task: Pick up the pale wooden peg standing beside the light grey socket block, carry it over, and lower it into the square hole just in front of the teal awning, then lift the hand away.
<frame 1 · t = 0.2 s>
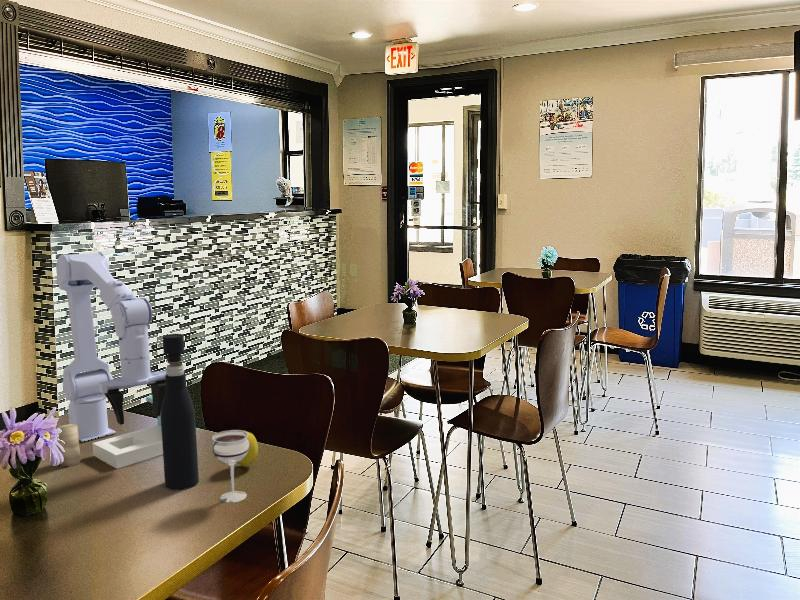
hand: (139, 419, 140), 10 cm above the table, tool pointing down, fingers open, 7 cm apart
peg: (70, 462, 142), on the table
socket block: (127, 455, 146), on the table
lemon: (245, 468, 139), on the table
wineglass: (233, 497, 125), on the table
wine bottle: (182, 484, 132), on the table
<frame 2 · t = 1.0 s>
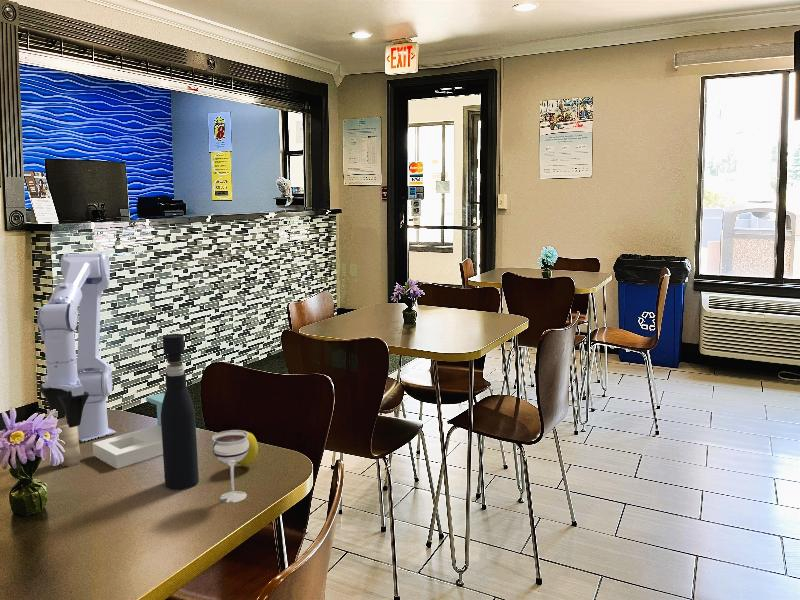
hand: (66, 422, 141), 9 cm above the table, tool pointing down, fingers open, 7 cm apart
nothing on the table moved.
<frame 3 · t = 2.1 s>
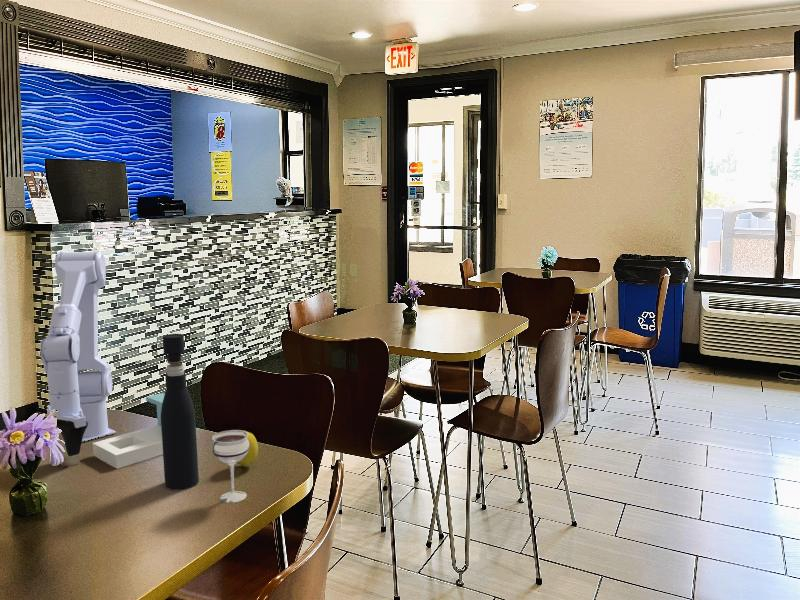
hand: (69, 452, 142), 2 cm above the table, tool pointing down, fingers closed on peg, 4 cm apart
peg: (70, 462, 142), on the table, touching gripper
everything else where it was.
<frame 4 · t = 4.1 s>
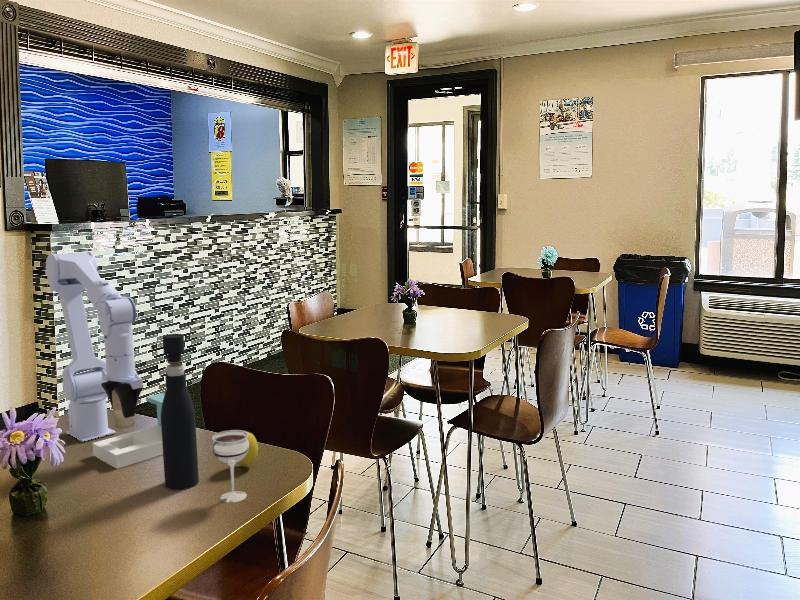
hand: (124, 414, 145), 9 cm above the table, tool pointing down, fingers closed on peg, 4 cm apart
peg: (124, 425, 145), point 7 cm above the table, touching gripper
everything else where it was.
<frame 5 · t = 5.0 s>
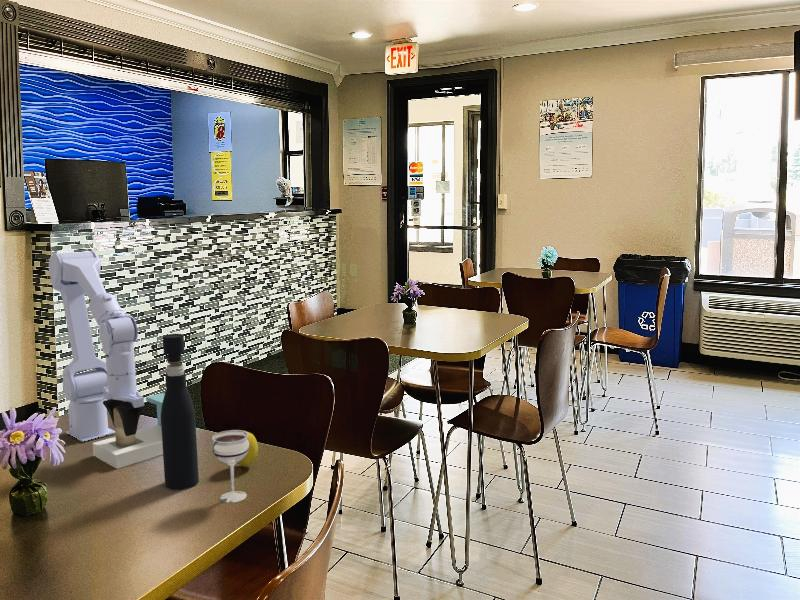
hand: (125, 432, 146), 5 cm above the table, tool pointing down, fingers closed on peg, 4 cm apart
peg: (125, 443, 146), point 3 cm above the table, touching gripper
everything else where it was.
when the fingers open (4 cm above the table, at t = 5.8 s): peg drops 1 cm, resting in socket block.
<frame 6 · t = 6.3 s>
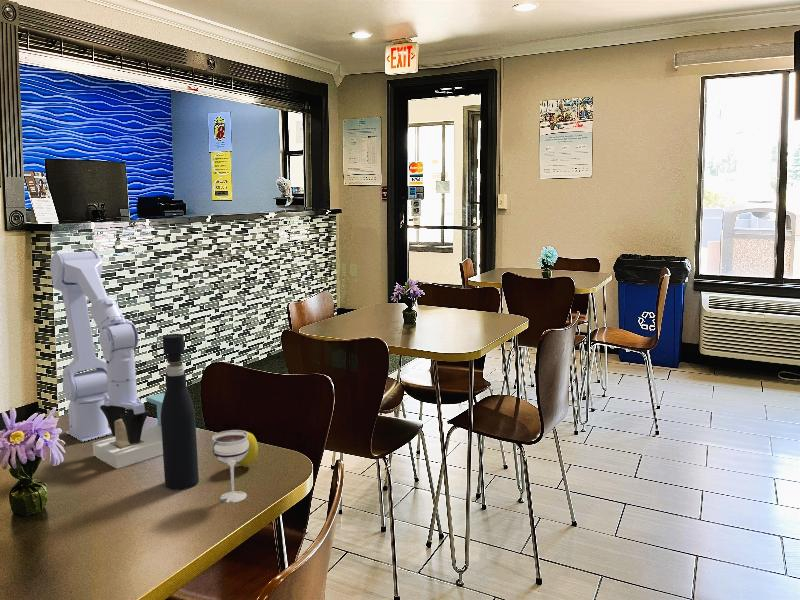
hand: (126, 438, 146), 4 cm above the table, tool pointing down, fingers open, 7 cm apart
peg: (126, 455, 146), resting in socket block
everything else where it was.
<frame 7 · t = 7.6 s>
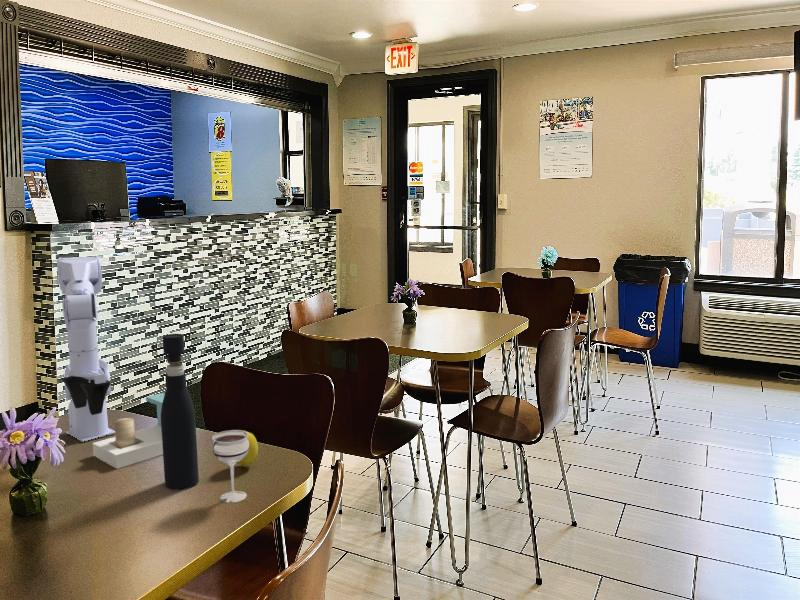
hand: (88, 410, 145), 10 cm above the table, tool pointing down, fingers open, 7 cm apart
nothing on the table moved.
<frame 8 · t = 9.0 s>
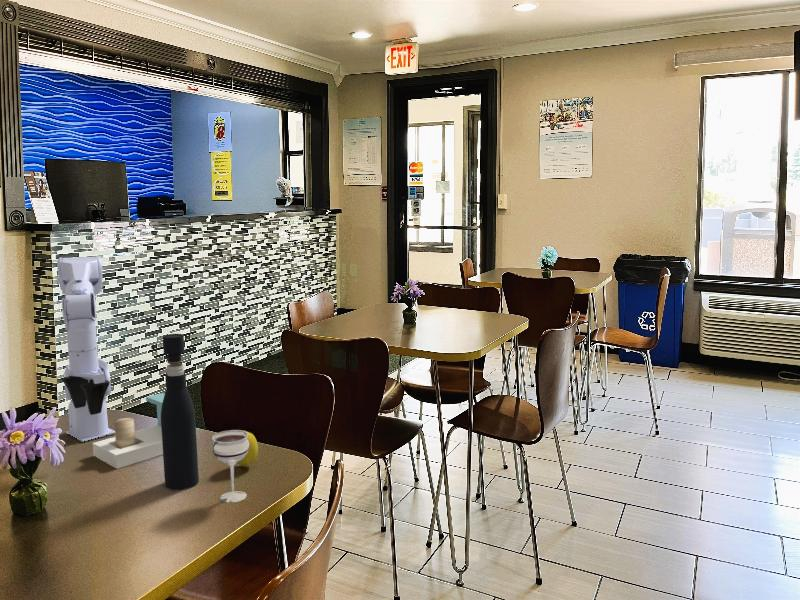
hand: (87, 410, 145), 10 cm above the table, tool pointing down, fingers open, 7 cm apart
nothing on the table moved.
at the end: peg 0.1 cm off-centre on the socket block, point 0.0 cm above the socket block's base; peg tilted 0°; the gripper is holding nothing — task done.
